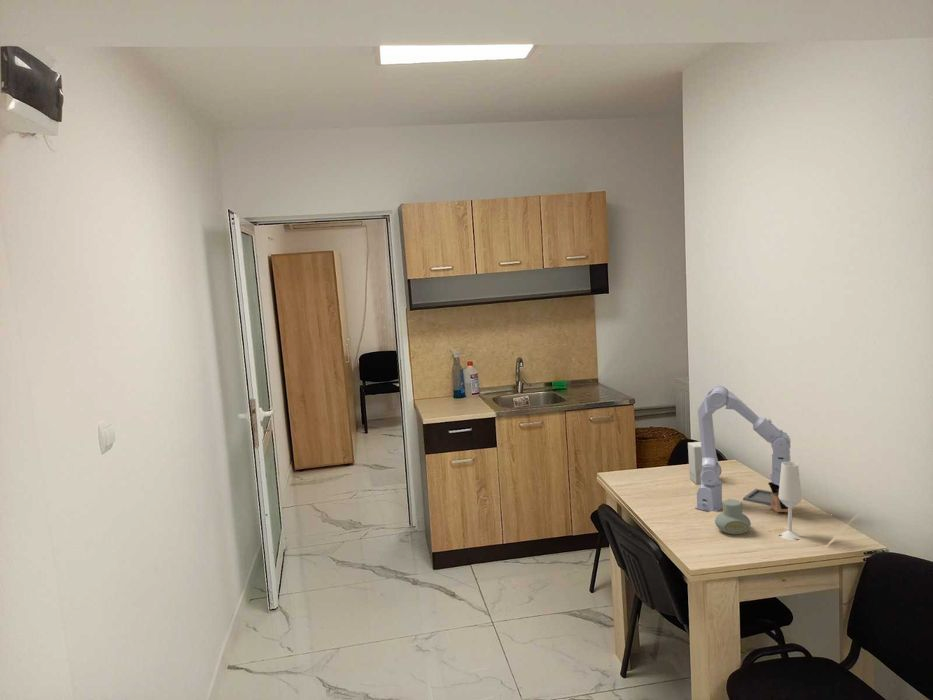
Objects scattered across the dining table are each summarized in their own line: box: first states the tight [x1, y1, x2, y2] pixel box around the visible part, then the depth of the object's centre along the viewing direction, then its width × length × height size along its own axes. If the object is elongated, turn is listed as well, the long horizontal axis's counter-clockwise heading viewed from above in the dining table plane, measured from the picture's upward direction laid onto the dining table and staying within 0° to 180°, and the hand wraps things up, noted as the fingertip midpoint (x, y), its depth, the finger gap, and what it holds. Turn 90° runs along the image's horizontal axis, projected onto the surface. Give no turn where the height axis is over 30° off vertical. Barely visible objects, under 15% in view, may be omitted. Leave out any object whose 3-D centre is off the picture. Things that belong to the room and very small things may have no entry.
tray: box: [742, 488, 772, 507], centre depth 245 cm, size 12×12×2 cm
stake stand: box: [765, 507, 798, 519], centre depth 232 cm, size 8×8×4 cm
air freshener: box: [714, 498, 751, 536], centre depth 219 cm, size 11×8×10 cm
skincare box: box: [687, 441, 702, 485], centre depth 269 cm, size 8×7×16 cm
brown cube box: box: [770, 493, 788, 512], centre depth 231 cm, size 5×6×5 cm
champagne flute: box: [778, 461, 803, 542], centre depth 211 cm, size 7×7×24 cm
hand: (781, 505), depth 231 cm, fingers closed on brown cube box, 5 cm apart
